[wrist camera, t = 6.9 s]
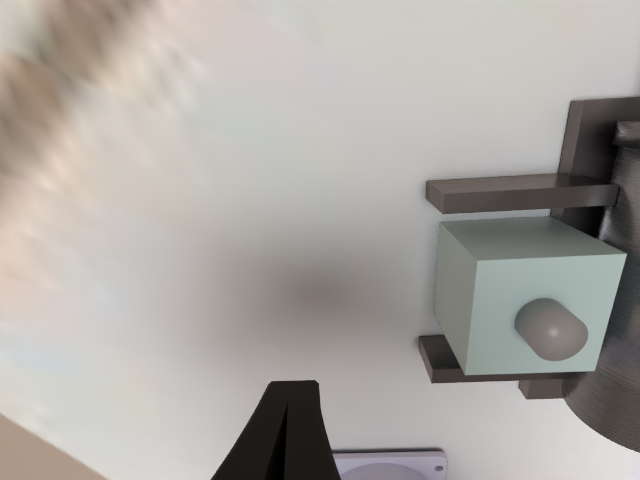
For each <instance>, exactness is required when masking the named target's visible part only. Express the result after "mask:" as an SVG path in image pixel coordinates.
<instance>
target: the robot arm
mask: <svg viewBox="0 0 640 480" xmlns="http://www.w3.org/2000/svg"><path fill="white" fill-rule="evenodd" d="M446 472H447V458H446V455H445V454H444V453H443V452H440V451H429V452H387V453H346V454H332V451H331V447H330V444H329V441H328V437H327V434H326V430H325V426H324V422H323V417H322V413H321V408H320V394H319V383H317V382H316V381H315V380H305V381H272V382H271V383H269V384H268V386H267V388H266V390H265V392H264V394H263V396H262V398H261V400H260V402H259V404H258V406H257V407H256V409H255V411H254V413H253V414H252V416H251V418H250V420H249V421H248V423H247V425H246V426H245V428H244V430H243V431H242V433H241V435H240V436H239V438H238V439H237V441H236V443H235V444H234V446H233V448H232V449H231V451H230V452H229V454H228V455H227V457H226V458H225V460H224V461H223V463H222V464H221V465H220V467H219V468H218V470H217V471H216V473H215V474H214V476H213V477H212V479H211V480H446Z"/></svg>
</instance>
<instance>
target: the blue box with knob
mask: <svg viewBox="0 0 640 480" xmlns="http://www.w3.org/2000/svg"><path fill="white" fill-rule="evenodd" d="M626 256H627V254H626V253H624V252H622V251H620V250H618V249H616V248H614V247H612V246H610V245H608V244H606V243H604V242H602V241H600V240H598V239H596V238H594V237H591V236H589V235H587V234H585V233H583V232H581V231H579V230H577V229H575V228H573V227H571V226H569V225H567V224H565V223H563V222H561V221H558V220H556V219H554V218H552V217H550V216H543V217H523V218H504V219H485V220H466V221H447V222H439V237H438V253H437V269H436V285H435V301H434V315H435V317H436V319H437V321H438V323H439V325H440V327H441V329H442V331H443V333H444V335H445V337H446V339H447V341H448V343H449V345H450V347H451V349H452V351H453V353H454V354H455V356H456V358H457V360H458V362H459V364H460V366H461V368H462V370H463V372H464V374H465V375H487V374H518V373H550V372H581V371H595V368H596V365H597V361H598V358H599V354H600V350H601V347H602V343H603V339H604V336H605V332H606V329H607V325H608V321H609V318H610V314H611V310H612V307H613V303H614V300H615V296H616V292H617V289H618V285H619V281H620V278H621V274H622V271H623V267H624V263H625V260H626Z"/></svg>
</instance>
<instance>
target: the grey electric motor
mask: <svg viewBox="0 0 640 480" xmlns="http://www.w3.org/2000/svg"><path fill="white" fill-rule="evenodd" d="M426 199H427V200H428V201H429V202H430V203H431V204H433V205H434V206H435V207H436V208H437V209H438V210H439V211H440V212H441V213H442V214H455V213H474V212H493V211H512V210H531V209H550V208H552V210H551V215H550V217H552V218H554V219H556V220H558V221H561V222H563V223H565V224H567V225H569V226H571V227H573V228H575V229H577V230H579V231H581V232H583V233H585V234H587V235H589V236H591V237H594V238H596V239H598V240H600V241H602V242H604V243H606V244H608V245H610V246H612V247H614V248H616V249H618V250H620V251H622V252H624V253H626V254H627V256H626V260H625V263H624V267H623V271H622V274H621V278H620V281H619V285H618V289H617V292H616V296H615V300H614V303H613V307H612V310H611V314H610V318H609V321H608V325H607V329H606V332H605V336H604V339H603V343H602V347H601V350H600V354H599V358H598V361H597V365H596V368H595V371H581V372H550V373H518V374H487V375H465V374H464V372H463V370H462V368H461V366H460V364H459V362H458V360H457V358H456V356H455V354H454V353H453V351H452V349H451V347H450V345H449V343H448V341H447V339H446V337H445V335H442V336H419V351H420V354H421V356H422V359H423V361H424V364H425V367H426V369H427V372H428V375H429V377H430V380H431V383H455V382H486V381H517V380H520V385H519V389H520V390H521V392H522V393H523V395H524V396H525V398H526V399H554V398H564V399H565V401H566V403H567V405H568V406H569V407H570V409H571V410H572V411H573V412H574V413H575V415H576V416H577V417H579V418H580V419H581V420H582V421H583V422H584V423H585V424H587V425H588V426H589V427H590V428H592V429H593V430H595V431H596V432H598V433H599V434H601V435H602V436H604V437H606V438H607V439H609V440H611V441H613V442H615V443H617V444H619V445H621V446H624V447H626V448H628V449H631V450H634V451H636V452H639V453H640V97H626V98H611V99H595V100H580V101H571V105H570V111H569V116H568V122H567V127H566V133H565V138H564V144H563V149H562V155H561V160H560V166H559V171H558V173H557V174H539V175H522V176H504V177H487V178H469V179H452V180H434V181H427V185H426Z"/></svg>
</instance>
